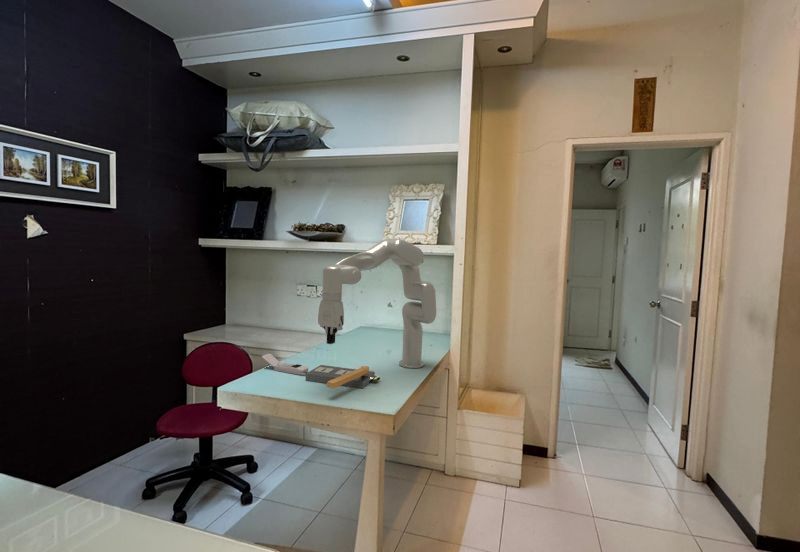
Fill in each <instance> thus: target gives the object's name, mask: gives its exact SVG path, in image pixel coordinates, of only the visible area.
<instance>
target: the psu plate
mask: <svg viewBox="0 0 800 552" xmlns="http://www.w3.org/2000/svg"><path fill="white" fill-rule="evenodd" d="M356 369H357V368H349V367H348V368H347V367H340V366H331V365H326V364H325V365H324V364H320V365H319V366H317V367H314V368H313V369H311V370H310V371H309V370H308V372H306V373H305V374H306V375H305V381H307V382H313V383H320V384H326V385H327V382H328V381H330V380H333V379H335V378H337V377H340V376H342V375H344V374H347V373H349V372H352V371H354V370H356ZM371 376H374V377H375V376H376V375H375V371H371V370H369V374H365V375H362V376H360V377H358V378H356V379H353V380H351V381H349V382H347V383H345V384H342V385H340V386H342V387H348V388H355V389H361V390H362V389H364V388H365V387H366V386H367V385H369V384H370V383H369V379H370V377H371ZM340 386H339V387H340Z"/></svg>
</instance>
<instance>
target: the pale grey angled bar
mask: <svg viewBox="0 0 800 552" xmlns="http://www.w3.org/2000/svg"><path fill="white" fill-rule="evenodd" d="M261 358H262V359H263V360H265V362H267V363H268V364H270V366H272V367H273V370H274V371H275V370H276V372H280V371H281V372H280V373H285V372H286V373H287V374H290V373H291V375H296V374H297V376H298V375H301V376H306V373H308V372H309V367H308V366H306V365H303V364H298V363H296V364H293V363H288V362H287V363H286V362H281V361H280V360H278V359H277V358H276V357H275V356H274V355H273V354H271V353H267V354H263V355H261Z"/></svg>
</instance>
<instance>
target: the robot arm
mask: <svg viewBox="0 0 800 552" xmlns="http://www.w3.org/2000/svg"><path fill="white" fill-rule="evenodd" d="M424 256H425V255H424V251H422V249H421V248H420V247H418V246H416V245H414V244H413V243H410V242H409V241H406V240H403V239H402V238H400V239H399V238H385V239H383V240H380V241H379V242H377V243H376V244H374V245H373V246H372V247H369V248H368V249H366V250H364V251H361V252H358V253H356V254H354V255H351V256H348V257H346V258H344V259H342V260H340V261H338V262H337V263H335V264H334V265H328V266H327V265H326V266H324V267H323V269H322V293H321V294H320V296H321V298H322V299H320V302H319V306H318V314H317V324H318V325H319V327H320V328H322V329H324V331H325V334H326V344H327V345H333V344H335V343H336V334H337V332H338V331H342V330H343V329H344V328H343V326H344V323H345V310H344V309H345V308H344V303H343V301H342V296H343V293H342V292H343V285H356V284H358V283H359V282H360V281H361V279H362V271H369V270H373V269H376V268H378V267H379V266H381V265H382V264H384V263H385V262H387V261H388V260H389V259H390V260H391V261H392V262H393V263H394V264H395V265H397V266H398V268H399V269H400V270H401V273H402V284H403V285H402V287H403V295H404V297H405V298H406V299H408V300H411V301H407V302H405V303H404V305H403V306H402V309H401V310H402V311H401V313H402V322H403V333H402V335H403V337H402V355H401V360H399V362H398V365H399V366H400V367H403V368H406V369H419V368H423V367H424V366H425V362H424V361H422V357H423V355H422V352H423V350H422V349H423V332H424V330H423V326H422V324H427V325H429V324H433V323H434V321H435V320H436V318H437V299H436V296H437V295H436V288H435V287H434V285H433V283H431V282H428V281H423V280H421V272H420V268H419V266H420V265H421V264H422V263H423V262H424V259H425V258H424Z"/></svg>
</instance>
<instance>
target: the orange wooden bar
mask: <svg viewBox="0 0 800 552" xmlns="http://www.w3.org/2000/svg"><path fill="white" fill-rule="evenodd" d="M355 369H356V370H354V371H352V372H349V373H347V374H344V375H342V376H340V377H337V378H335V379H333V380H330V381H328V382H327V384H326V385H327V386H326V387H327V388H330V389H335V388H339V387H340V385H342V384H345V383H347V382H349V381H351V380H353V379H356V378H358V377H360V376H362V375H365V374H369V371H370V366H367V365H363V366H360V367H359V368H355Z"/></svg>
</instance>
